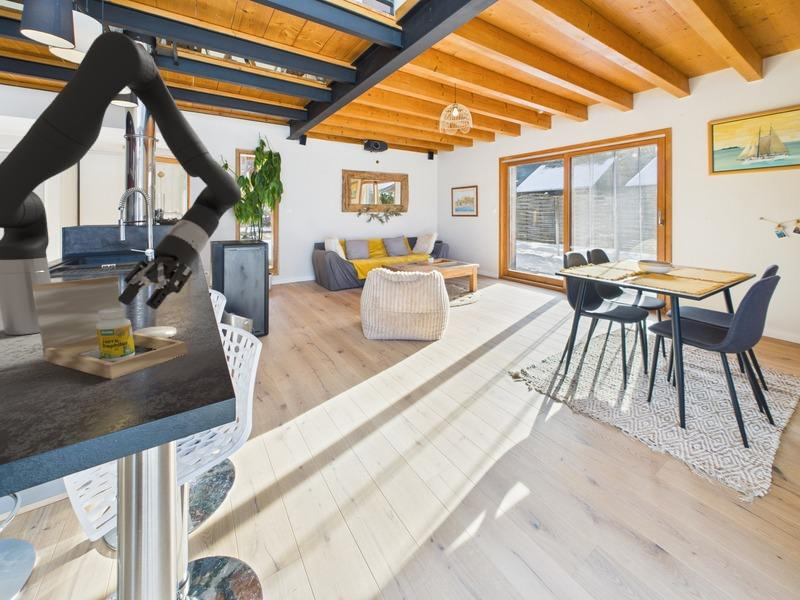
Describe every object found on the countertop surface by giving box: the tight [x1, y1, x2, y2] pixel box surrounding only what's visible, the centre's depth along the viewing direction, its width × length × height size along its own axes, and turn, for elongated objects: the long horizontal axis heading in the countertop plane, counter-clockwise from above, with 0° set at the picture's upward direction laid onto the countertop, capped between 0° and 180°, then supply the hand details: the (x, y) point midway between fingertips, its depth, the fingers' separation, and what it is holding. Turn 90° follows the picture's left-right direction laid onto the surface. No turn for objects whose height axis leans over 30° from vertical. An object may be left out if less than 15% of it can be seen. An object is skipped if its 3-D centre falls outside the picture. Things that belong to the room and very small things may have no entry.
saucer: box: [132, 325, 178, 338], centre depth 86 cm, size 9×9×1 cm
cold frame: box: [31, 275, 188, 380], centre depth 71 cm, size 20×14×14 cm
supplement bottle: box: [96, 307, 136, 362], centre depth 72 cm, size 5×5×10 cm
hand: (136, 304), depth 75 cm, fingers open, 8 cm apart
